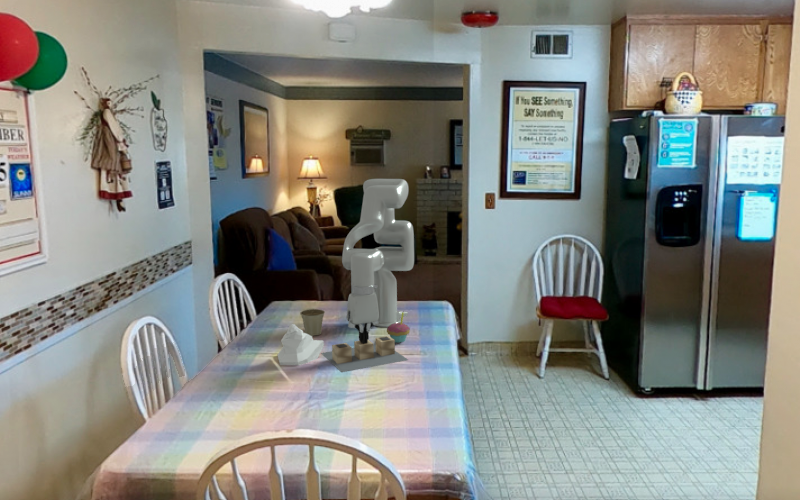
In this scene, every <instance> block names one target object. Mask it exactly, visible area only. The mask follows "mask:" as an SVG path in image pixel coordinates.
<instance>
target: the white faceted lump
mask: <svg viewBox="0 0 800 500" xmlns="http://www.w3.org/2000/svg"><path fill="white" fill-rule="evenodd" d="M280 342H281V343H282V344H281V345H282V347H281V349H280V351H279V352H278V353H277V359H278V362H279V365H280V366H302V365H305V364H308V363H310V362H313V361H315V360H317V359H318V358H319V356H320V354H321V353H322V350H323V348H324V346H325V342H324V340H322V339H321V340H319V339H313V336H310V335H309V334H306V333H305V332H304V331H303V330H302V329H300V328H299V327H298V326H297V325H296V323H295V324H293V323H291V324H290V325H289V326H288V329H287V331H286V332H285V334H284V335H283V337H282V338H281V340H280Z"/></svg>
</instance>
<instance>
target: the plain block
mask: <svg viewBox="0 0 800 500" xmlns="http://www.w3.org/2000/svg"><path fill="white" fill-rule="evenodd" d="M353 343H354V344H353V348H354V355H355V356H356V357H357V358H358V359H359V360H363V359H368V358H374V347H373V344H374V342H372V341H370V340H369V339H368V343H365V344H363V343H361V342H360V341H359V340H356V341H354V342H353Z"/></svg>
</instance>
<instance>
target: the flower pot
mask: <svg viewBox="0 0 800 500" xmlns="http://www.w3.org/2000/svg"><path fill="white" fill-rule="evenodd" d="M325 313H326V312H325V310H324V309H320V308H319V309H317V308H312V309H311V308H310V309H304V310H301V312H300V315H301V319H302V323H303V329H304V333H306V334H309V335H310V336H312V337H313V336H319V335H321V334H322V328H323V321H324V315H325Z"/></svg>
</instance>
